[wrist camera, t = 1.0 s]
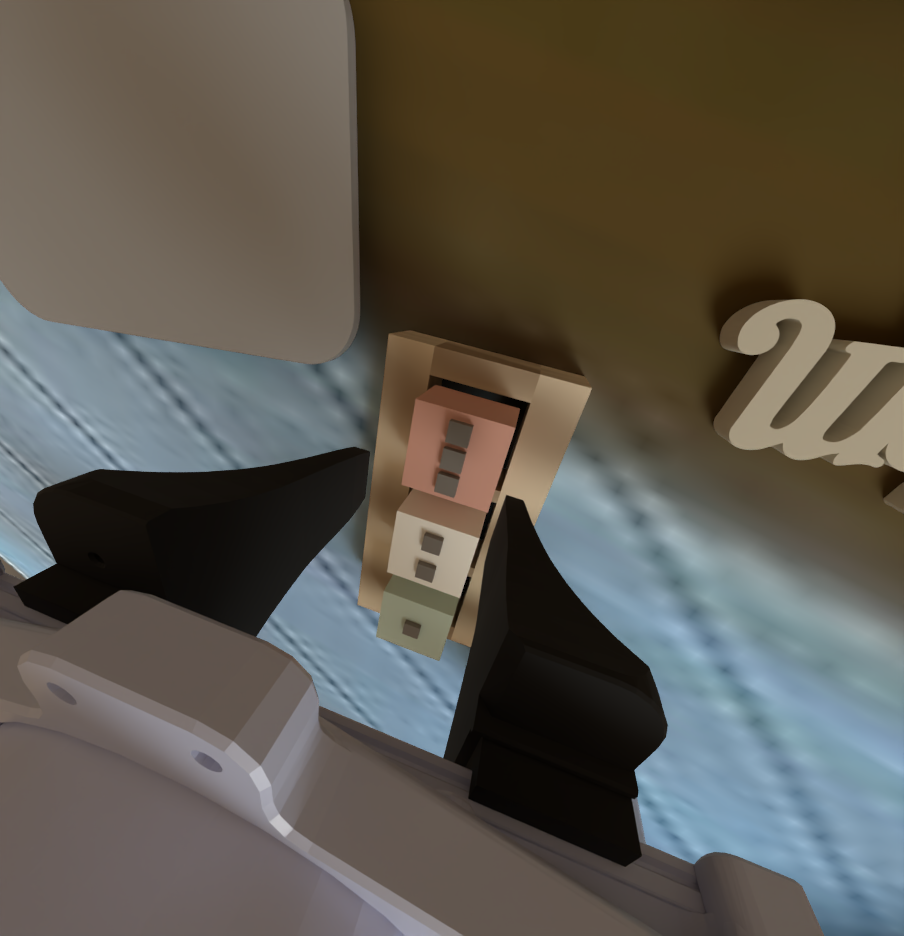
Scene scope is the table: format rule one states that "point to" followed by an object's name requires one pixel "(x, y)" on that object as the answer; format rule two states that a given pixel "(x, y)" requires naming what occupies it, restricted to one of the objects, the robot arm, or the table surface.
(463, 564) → the cream studded block
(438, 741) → the table surface
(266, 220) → the tablet
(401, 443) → the button board
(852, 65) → the table surface
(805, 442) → the decorative sign
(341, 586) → the table surface
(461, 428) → the button
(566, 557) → the table surface
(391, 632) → the button
